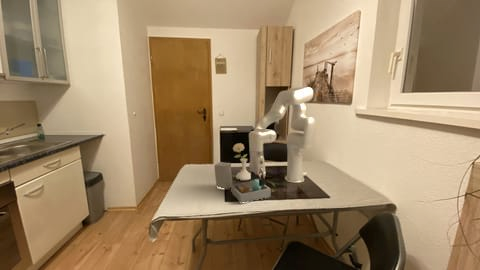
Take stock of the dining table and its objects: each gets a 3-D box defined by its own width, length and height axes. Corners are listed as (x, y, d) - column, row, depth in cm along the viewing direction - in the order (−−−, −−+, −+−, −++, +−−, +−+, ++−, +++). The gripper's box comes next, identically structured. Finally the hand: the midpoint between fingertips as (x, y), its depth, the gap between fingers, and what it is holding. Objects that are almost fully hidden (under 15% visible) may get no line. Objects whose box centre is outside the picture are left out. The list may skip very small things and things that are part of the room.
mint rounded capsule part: (258, 190, 124) (258, 178, 122) (262, 193, 119) (262, 181, 118) (250, 191, 122) (250, 180, 121) (254, 195, 117) (254, 183, 116)
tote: (258, 187, 129) (258, 180, 128) (270, 197, 116) (270, 188, 115) (230, 193, 122) (230, 185, 121) (240, 204, 109) (240, 195, 108)
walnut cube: (246, 192, 121) (245, 184, 120) (250, 196, 116) (249, 187, 115) (238, 194, 119) (237, 185, 118) (241, 197, 114) (241, 189, 113)
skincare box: (233, 187, 130) (232, 162, 128) (226, 191, 124) (225, 166, 122) (221, 185, 135) (220, 161, 132) (215, 189, 129) (213, 164, 126)
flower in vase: (252, 176, 149) (252, 141, 145) (252, 182, 138) (251, 144, 134) (234, 175, 151) (233, 141, 147) (232, 181, 139) (231, 144, 135)
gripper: (270, 155, 111) (271, 186, 114) (255, 149, 126) (256, 176, 129) (258, 158, 108) (259, 189, 111) (243, 150, 123) (245, 178, 126)
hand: (257, 182), depth 120 cm, fingers open, 9 cm apart
